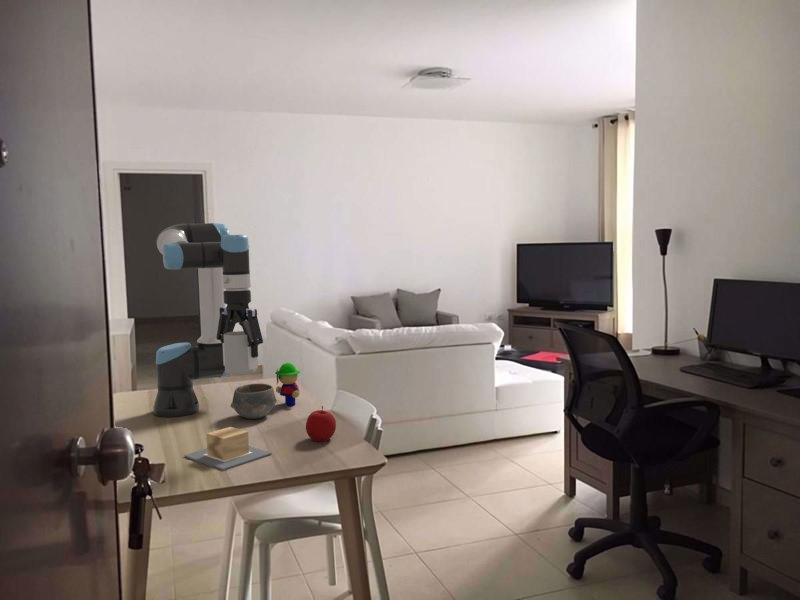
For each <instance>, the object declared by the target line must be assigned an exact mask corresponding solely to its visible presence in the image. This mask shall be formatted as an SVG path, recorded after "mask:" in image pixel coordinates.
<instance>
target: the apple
mask: <svg viewBox="0 0 800 600" xmlns="http://www.w3.org/2000/svg"><path fill="white" fill-rule="evenodd" d="M336 429H337V421H336V417H335V416H334V415H333V413H331V412H329V411H327V410H324V406H323V405H321V410H317V409H316V410H314V411H312V412H311V413H309V415H308V417H307V419H306V423H305V432H306V434H307V435H308V437H309V438H310V440H312V441H314V442H320V441H321V442H327V441H328V440H330V439H331V438H332V437H333V436H334V434H335V432H336Z"/></svg>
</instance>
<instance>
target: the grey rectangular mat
mask: <svg viewBox="0 0 800 600" xmlns="http://www.w3.org/2000/svg"><path fill="white" fill-rule="evenodd" d="M271 455H273V453H272V452H270V451H267V450H264V449H260V448H256V447H254V446H251V445H250V446H249V453H246V454H243V455H240V456H237V457H234V458H231V459H228V460H222V459H219V458H216V457H213V456H210V455H207V448H204V449H201V450H197V451H194V452H190V453H187V454H184V458H186V459H189V460H191V461H195V462H197V463H200V464H203V465H206V466H209V467H212V468H215V469H217V470H220V471H227V470H229V469H232V468H235V467H238V466H242V465H245V464H247V463H251V462H254V461H256V460H259V459H262V458H265V457H269V456H271Z"/></svg>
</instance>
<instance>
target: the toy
mask: <svg viewBox="0 0 800 600" xmlns="http://www.w3.org/2000/svg"><path fill="white" fill-rule="evenodd" d="M276 369H277V370H276V372H275V375H276V385H277V386H276V388H275V392H276V393H277V394H279V395H280V396H281V397H284V402H285V403H284V404H285V405H286V407H294V406H296V398H299V396H300V389H299V386H298V383H297V382H296V381H297V380H298V375H299V374H300V373H301V370H299V369H296V367H295V365H294V364H293V363H291V362H285V363H283V364H281V366H280V368H276ZM279 382H280V383H281V384H282V385H278V383H279Z"/></svg>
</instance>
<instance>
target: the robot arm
mask: <svg viewBox="0 0 800 600" xmlns="http://www.w3.org/2000/svg"><path fill="white" fill-rule="evenodd" d="M230 233H231V232H230V231H229V229H228V226H227V225H225V224H224V223H214V222H211V223H206V222H203V223H177V224H174V225H171V226H168V227H166V228H165V229H163V230H161V231H160V233H158V236H157V237H156V248H157V250H158V252H159V253H160V254H161V255H162V263H163V267H164V269H166V270H175V271H179V270H185V269H186V270H191V269H197V271H198V272H197V273H198V292H199V293H198V294H199V311H200V312H199V313H200V315H199V316H200V337H198V339H197V340H196V346H192V344H191V343H190V342H177V343H171V344H168V345H164V346H162V347H160V348H158V350H156V354H155V365H156V381H157V392H156V397H155V400H154V404H153V407H152V408H153V415H155V416H157V417H161V418H162V417H163V418H164V417H166V418H171V417H172V418H173V417H183V416H188V415H192V414H195V413H197V412H198V411H199V410H200V402H199V399H198V397H197V394H196V391H195V390H194V383H193V381H196V380H198V381H199V380H206V379H217V378H219V379H221V378H223V377H230V376H232V375H233V374H227V373H225V356H224V334H225V333H228V332H234V329H235V327H236V324H238V325H239V326H241V329H242V331H244V333H245V335H247V340H248V343H249V345H248V346H247V349H248V369H249V370H251V369H258V368H259V367H258V357H259V345H261V344H263V343H264V340H263V335H262V332H261V328H260V322H259V319H258V310H257V308H250V306H249V303H250V304H251V302H252V292H251V290H250V288H251V287H252V285H251V273H250V272H251V270H250V245H249V237H248V236H247V235H246V234H230ZM252 340H253V341H252Z"/></svg>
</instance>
